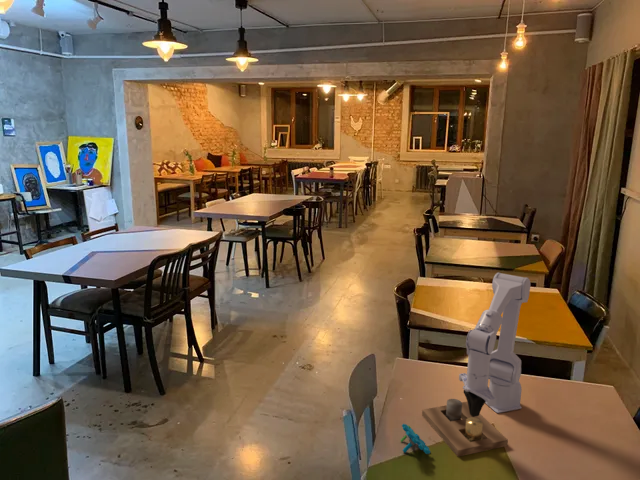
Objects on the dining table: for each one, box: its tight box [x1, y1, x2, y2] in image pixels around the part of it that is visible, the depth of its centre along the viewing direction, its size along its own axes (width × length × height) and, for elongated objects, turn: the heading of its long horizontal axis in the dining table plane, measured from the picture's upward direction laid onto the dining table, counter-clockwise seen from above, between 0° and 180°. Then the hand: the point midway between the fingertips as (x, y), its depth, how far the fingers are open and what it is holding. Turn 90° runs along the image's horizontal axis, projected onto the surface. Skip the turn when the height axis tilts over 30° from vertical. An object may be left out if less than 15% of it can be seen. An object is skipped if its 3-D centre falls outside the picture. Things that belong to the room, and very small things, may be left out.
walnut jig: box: [421, 398, 509, 458], centre depth 139 cm, size 16×20×6 cm
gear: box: [400, 423, 431, 455], centre depth 131 cm, size 11×6×10 cm
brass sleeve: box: [464, 417, 483, 442], centre depth 134 cm, size 4×4×6 cm
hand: (474, 415), depth 133 cm, fingers closed
